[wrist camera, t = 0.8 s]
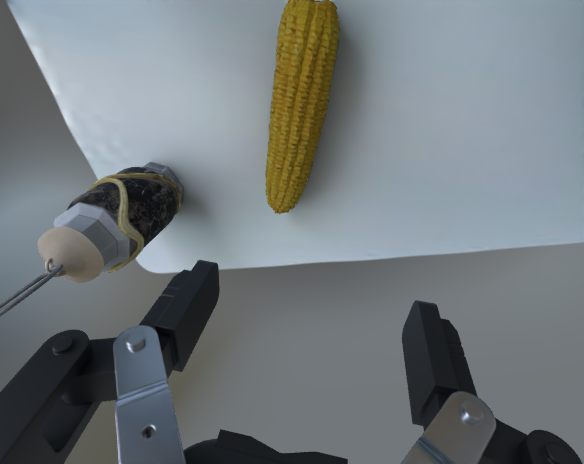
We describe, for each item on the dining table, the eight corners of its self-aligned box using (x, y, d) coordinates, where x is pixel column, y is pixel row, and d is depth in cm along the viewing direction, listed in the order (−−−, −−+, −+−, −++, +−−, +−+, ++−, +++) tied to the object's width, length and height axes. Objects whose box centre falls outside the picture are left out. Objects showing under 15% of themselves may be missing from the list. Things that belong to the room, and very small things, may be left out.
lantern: (154, 227, 45) (-15, 392, 23) (111, 177, 42) (-130, 310, 20) (203, 198, 42) (65, 354, 20) (161, 142, 39) (-55, 252, 17)
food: (285, -2, 31) (277, -14, 26) (344, 6, 31) (347, -4, 26) (264, 201, 41) (255, 222, 36) (309, 208, 41) (306, 230, 36)
